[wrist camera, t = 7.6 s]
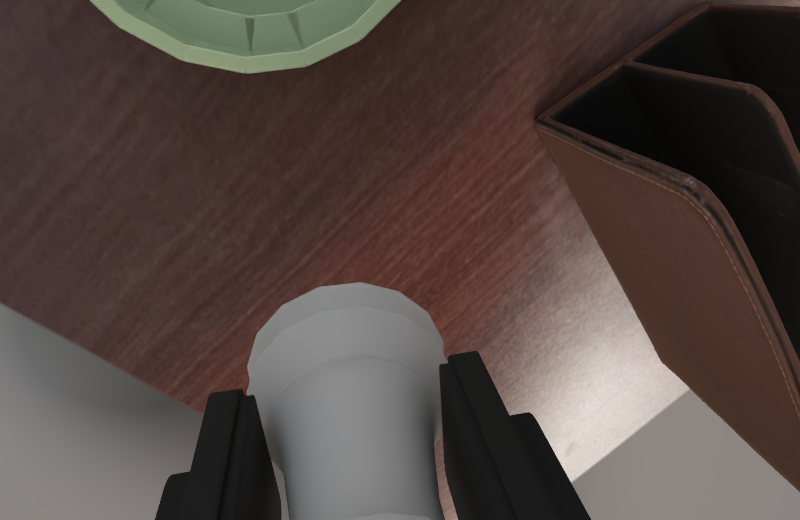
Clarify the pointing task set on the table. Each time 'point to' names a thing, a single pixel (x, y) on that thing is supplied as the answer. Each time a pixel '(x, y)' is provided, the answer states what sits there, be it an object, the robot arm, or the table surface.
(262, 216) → the table surface
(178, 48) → the bowl
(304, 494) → the rook chess piece
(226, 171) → the table surface
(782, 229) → the letter holder
